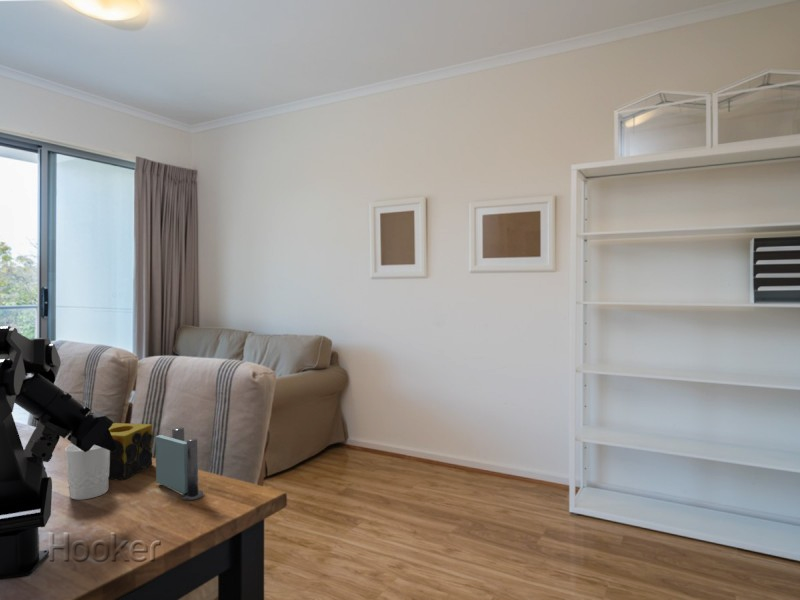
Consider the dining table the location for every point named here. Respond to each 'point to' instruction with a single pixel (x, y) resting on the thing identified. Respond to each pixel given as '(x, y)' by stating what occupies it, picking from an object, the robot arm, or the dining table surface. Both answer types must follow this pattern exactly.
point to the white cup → (87, 471)
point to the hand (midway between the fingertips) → (114, 449)
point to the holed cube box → (130, 449)
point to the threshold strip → (178, 491)
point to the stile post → (178, 433)
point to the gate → (171, 463)
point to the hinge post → (192, 472)
